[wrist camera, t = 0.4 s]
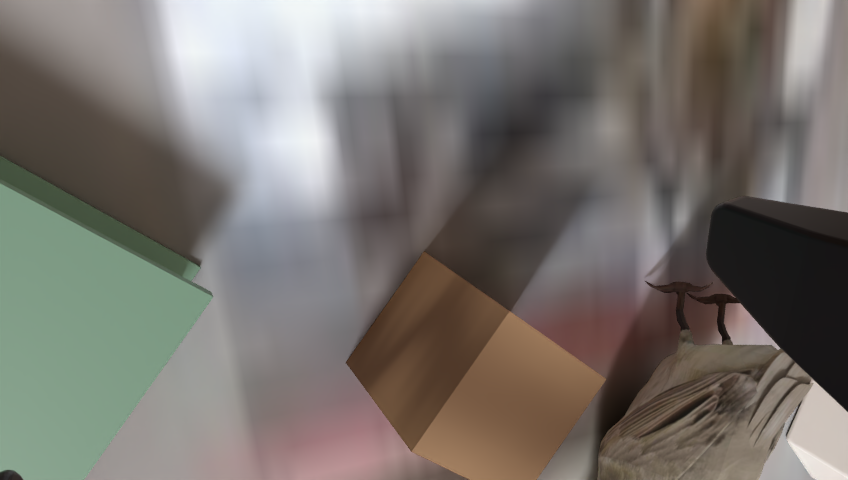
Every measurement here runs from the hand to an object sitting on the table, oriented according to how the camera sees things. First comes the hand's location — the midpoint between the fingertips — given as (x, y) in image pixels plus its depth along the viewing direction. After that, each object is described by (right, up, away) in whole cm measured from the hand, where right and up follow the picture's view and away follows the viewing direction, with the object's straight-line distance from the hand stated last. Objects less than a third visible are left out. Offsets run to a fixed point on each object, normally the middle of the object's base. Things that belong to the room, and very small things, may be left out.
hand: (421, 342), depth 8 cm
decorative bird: (+9, -7, +24) cm, 27 cm away
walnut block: (0, -2, +18) cm, 18 cm away
